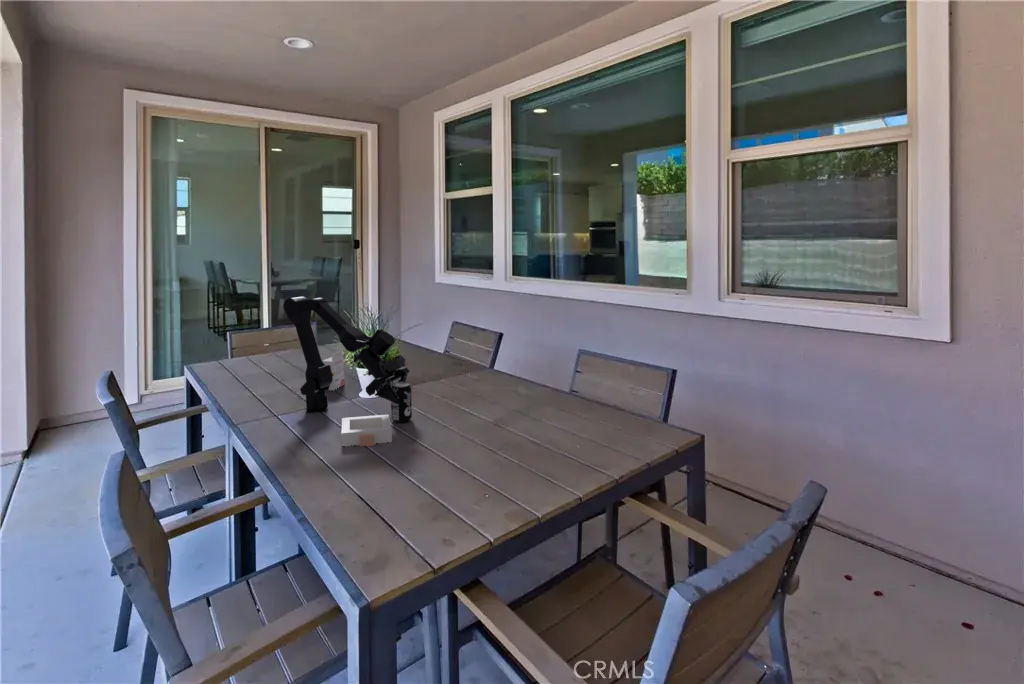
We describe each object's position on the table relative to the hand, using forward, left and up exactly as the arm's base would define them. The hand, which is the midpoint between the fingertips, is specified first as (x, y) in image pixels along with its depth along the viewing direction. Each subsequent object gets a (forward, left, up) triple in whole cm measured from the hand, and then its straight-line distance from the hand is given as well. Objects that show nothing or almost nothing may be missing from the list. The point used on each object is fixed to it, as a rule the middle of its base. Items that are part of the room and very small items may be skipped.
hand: (404, 400), depth 178 cm
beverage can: (-1, +1, -7) cm, 7 cm away
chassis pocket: (-13, -11, -7) cm, 18 cm away
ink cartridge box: (-24, +48, -7) cm, 54 cm away
